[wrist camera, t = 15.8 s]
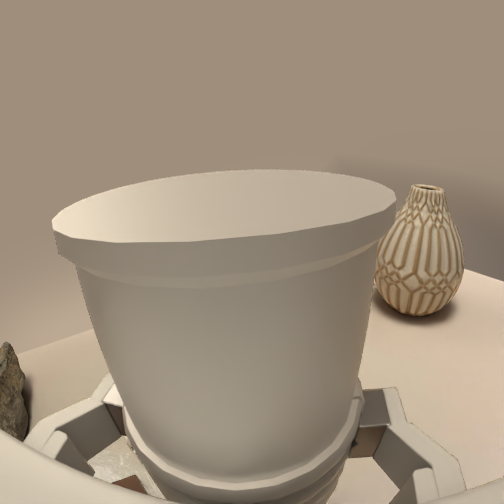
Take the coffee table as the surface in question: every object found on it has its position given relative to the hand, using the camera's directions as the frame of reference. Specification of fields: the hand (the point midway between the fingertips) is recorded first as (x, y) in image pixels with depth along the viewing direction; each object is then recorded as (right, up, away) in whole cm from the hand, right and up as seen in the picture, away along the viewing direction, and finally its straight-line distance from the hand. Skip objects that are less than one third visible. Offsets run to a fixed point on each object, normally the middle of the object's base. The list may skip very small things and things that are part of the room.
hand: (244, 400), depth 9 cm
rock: (-30, -16, +16) cm, 38 cm away
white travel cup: (0, -8, +2) cm, 8 cm away
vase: (+28, -4, +39) cm, 48 cm away
